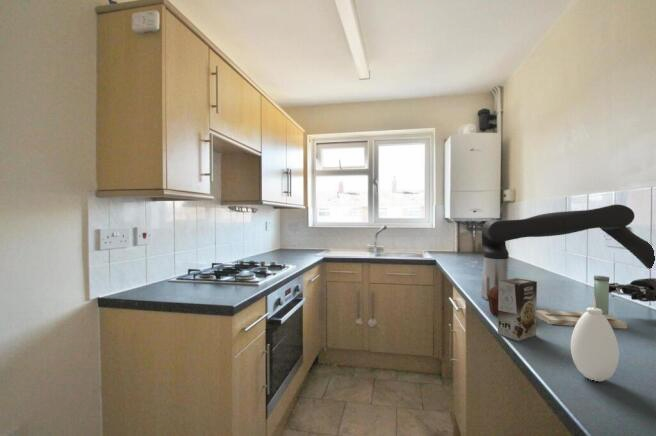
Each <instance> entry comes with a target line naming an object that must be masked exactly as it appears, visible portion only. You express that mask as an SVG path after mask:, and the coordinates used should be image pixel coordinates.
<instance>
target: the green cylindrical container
mask: <svg viewBox="0 0 656 436" xmlns="http://www.w3.org/2000/svg"><path fill="white" fill-rule="evenodd" d="M593 282H594V283H593V284H594V285H593V298H594V297H595V299H596V308H598V309H601V310H602V314H603V315H604V317H605V318H606V319H617V316H616V315H614V314H612V313H609V303H610V302H609V301H610V299H609V296H610V293H609V283H610V277H609V276H605V275H594V276H593Z"/></svg>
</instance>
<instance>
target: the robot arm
mask: <svg viewBox="0 0 656 436" xmlns="http://www.w3.org/2000/svg"><path fill="white" fill-rule="evenodd" d="M634 219H635V212H634V211H633V209H632V208H631V207H628V206H627V205H623V204H610V205H607V206H603V207H598V208H592V209H583V210H571V211H570V210H567V211H557V212H548V213H542V214H537V215H533V216H530V217H526V218H522V219H490V220H486V221H485V223H484V224H483V225H482V227H481V228H482V229H481V248H482V253H483V263H482V264H483V270H482V271H483V273H482V274H481V297H482V298H484V300H485V301H486V300H487V301H488V296H487V293H488V291H489V290H490V289H491V288H493V287H495V286H498V285H499V281H500V280H507V279H509V264H510V263H509V260H510V259H509V255H510V254H509V251H508V249H507V245H506V242H508V241H511V240H512V241H513V240H517V239H522V238H538V237H539V238H543V237H555V236H563V235H569V234H574V233H578V232H583V231H586V230H590V229H591V230H592V229H600V230H602V231H603V232H604V233H605V234H607V235H608V236H610V237H611V238H612V239H614V240H615V241H616V242H618V243H619V244H620V245H621V246H622V247H624V248H625V249H626V250H627V251H629V252H630V253H631V254H632V255H633V256H634V257H635V258H636V259H638V260H639V262H640V263H641V264H642V265H644V267H646V268H647V269H648V268H649V269H650V268H652V266H653V264H654V261H655V256H654V250H653V248H652V246H651V245H650V244H649V243H650V242H649V241H647V240H645V239H643V238H641V237H640V236H638V235H637V234H636V233H634V232H632V231H631V230H630V228H628V226H629V225H631V224H632V222H634ZM648 242H649V243H648ZM649 269H648V270H649ZM621 291H622V292H621ZM610 293H611V294H617V295H621V296H628V297H631V298H630V299H631V300H633V301H637V300H638V301H640V302H656V278H655V277H653V278H640V279H634V280H632V281H631V282H630V283H627V284H621V283H618V282H609V294H610Z"/></svg>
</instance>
